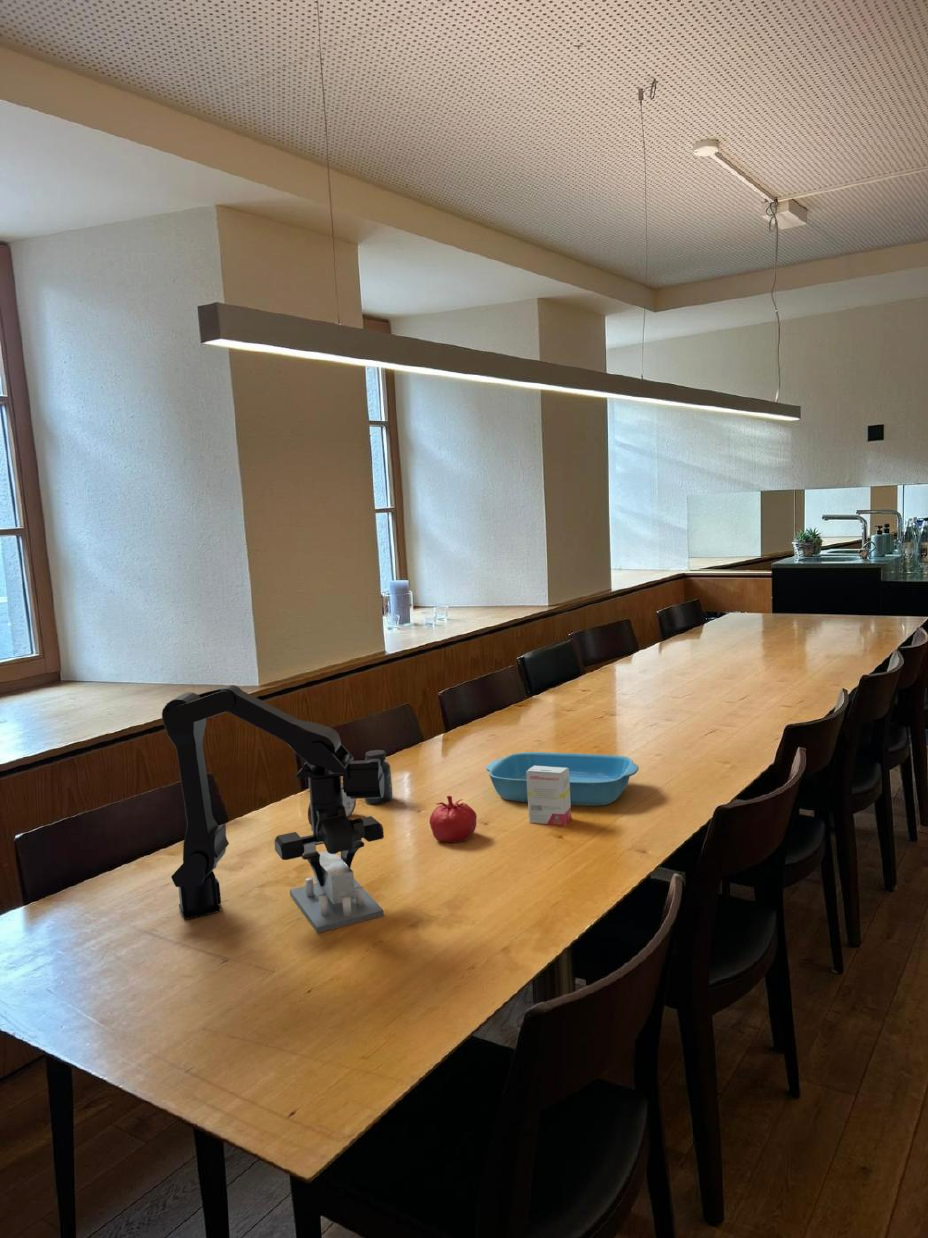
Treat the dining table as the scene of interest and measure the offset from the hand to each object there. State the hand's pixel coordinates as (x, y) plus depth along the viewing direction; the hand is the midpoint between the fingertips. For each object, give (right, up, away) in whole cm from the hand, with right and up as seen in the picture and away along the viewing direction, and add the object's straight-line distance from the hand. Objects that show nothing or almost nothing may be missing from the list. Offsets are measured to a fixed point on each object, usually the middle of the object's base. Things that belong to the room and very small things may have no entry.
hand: (333, 883), depth 165 cm
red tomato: (+21, +1, +30) cm, 37 cm away
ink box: (+43, +3, +37) cm, 56 cm away
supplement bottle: (+3, +3, +58) cm, 58 cm away
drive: (0, -1, 0) cm, 1 cm away
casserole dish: (+47, +5, +55) cm, 73 cm away
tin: (-6, +1, +44) cm, 44 cm away
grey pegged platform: (0, -4, +1) cm, 4 cm away
